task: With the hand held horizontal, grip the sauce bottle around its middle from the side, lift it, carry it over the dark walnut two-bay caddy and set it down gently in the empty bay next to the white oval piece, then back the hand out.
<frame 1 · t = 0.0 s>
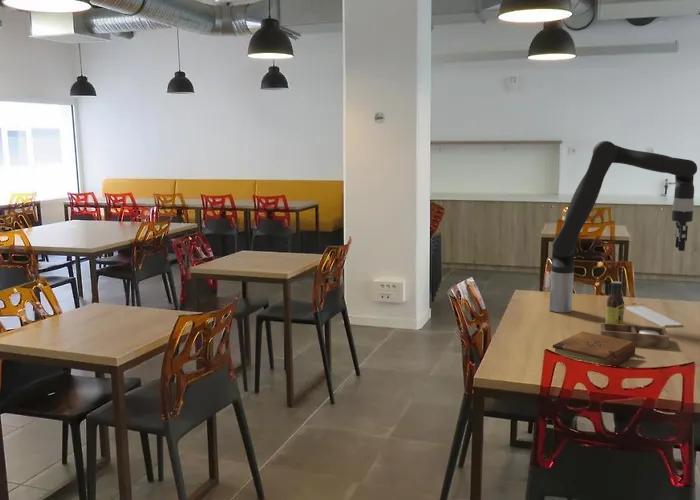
hand: (679, 249, 267), 29 cm above the table, tool pointing down, fingers open, 8 cm apart
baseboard: (650, 318, 275), on the table
diary: (593, 359, 222), on the table
white oval piece: (648, 341, 238), point 1 cm above the table, touching caddy
caddy: (632, 342, 239), on the table
sauce bottle: (613, 333, 252), on the table
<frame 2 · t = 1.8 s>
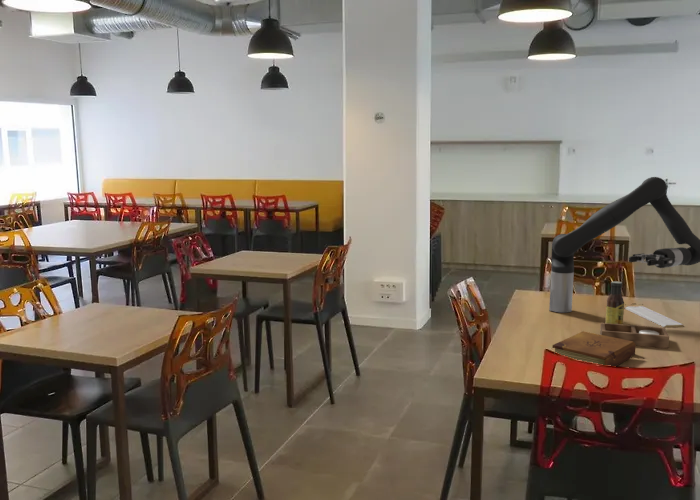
hand: (638, 261, 252), 27 cm above the table, tool horizontal, fingers open, 8 cm apart
nothing on the table moved.
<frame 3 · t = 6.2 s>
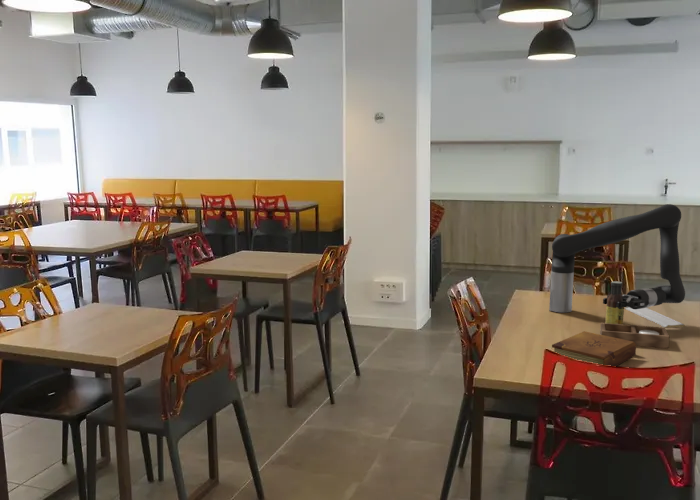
hand: (610, 303, 249), 12 cm above the table, tool horizontal, fingers closed on sauce bottle, 6 cm apart
sauce bottle: (613, 333, 252), on the table, touching gripper
everything else where it was.
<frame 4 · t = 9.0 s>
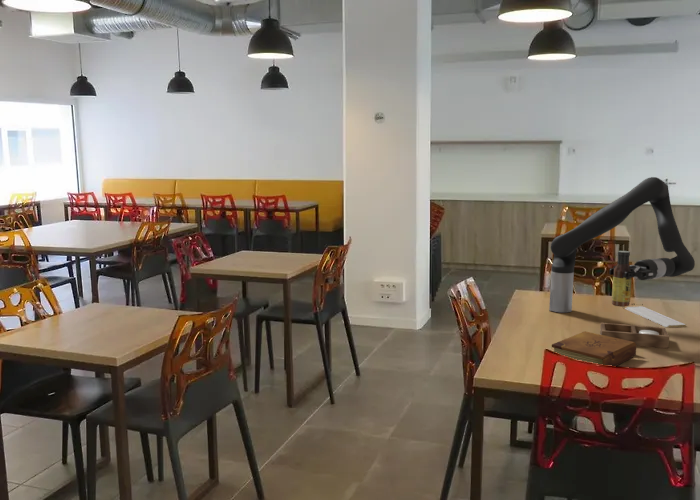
hand: (617, 273, 236), 26 cm above the table, tool horizontal, fingers closed on sauce bottle, 6 cm apart
sauce bottle: (620, 305, 239), point 13 cm above the table, touching gripper
everything else where it was.
when the fingers open (13 cm above the table, at t = 11.8 s): sauce bottle stays where it is, resting on caddy.
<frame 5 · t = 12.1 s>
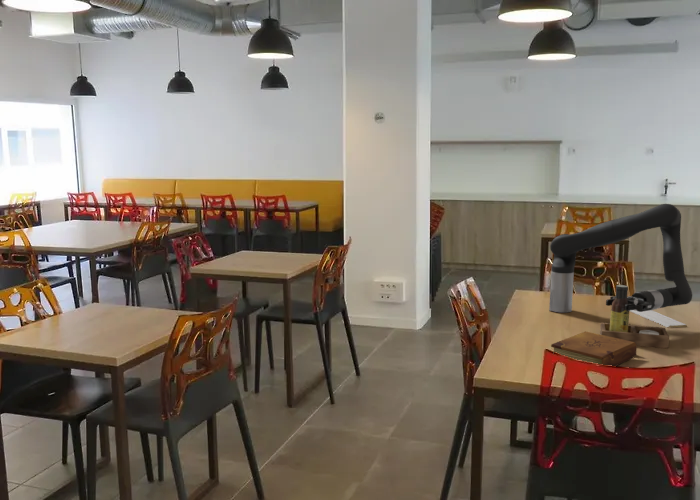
hand: (616, 305, 238), 14 cm above the table, tool horizontal, fingers open, 8 cm apart
sauce bottle: (617, 339, 241), point 1 cm above the table, touching caddy
everything else where it was.
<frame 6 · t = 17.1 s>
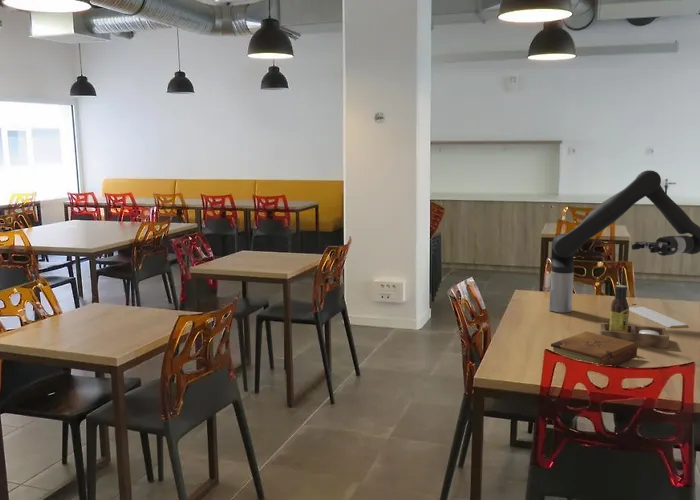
hand: (641, 248, 252), 32 cm above the table, tool horizontal, fingers open, 8 cm apart
at the end: sauce bottle inside the target area on the caddy (0.3 cm from its centre), point 0.6 cm above the caddy's base; sauce bottle tilted 0°; the gripper is holding nothing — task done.
